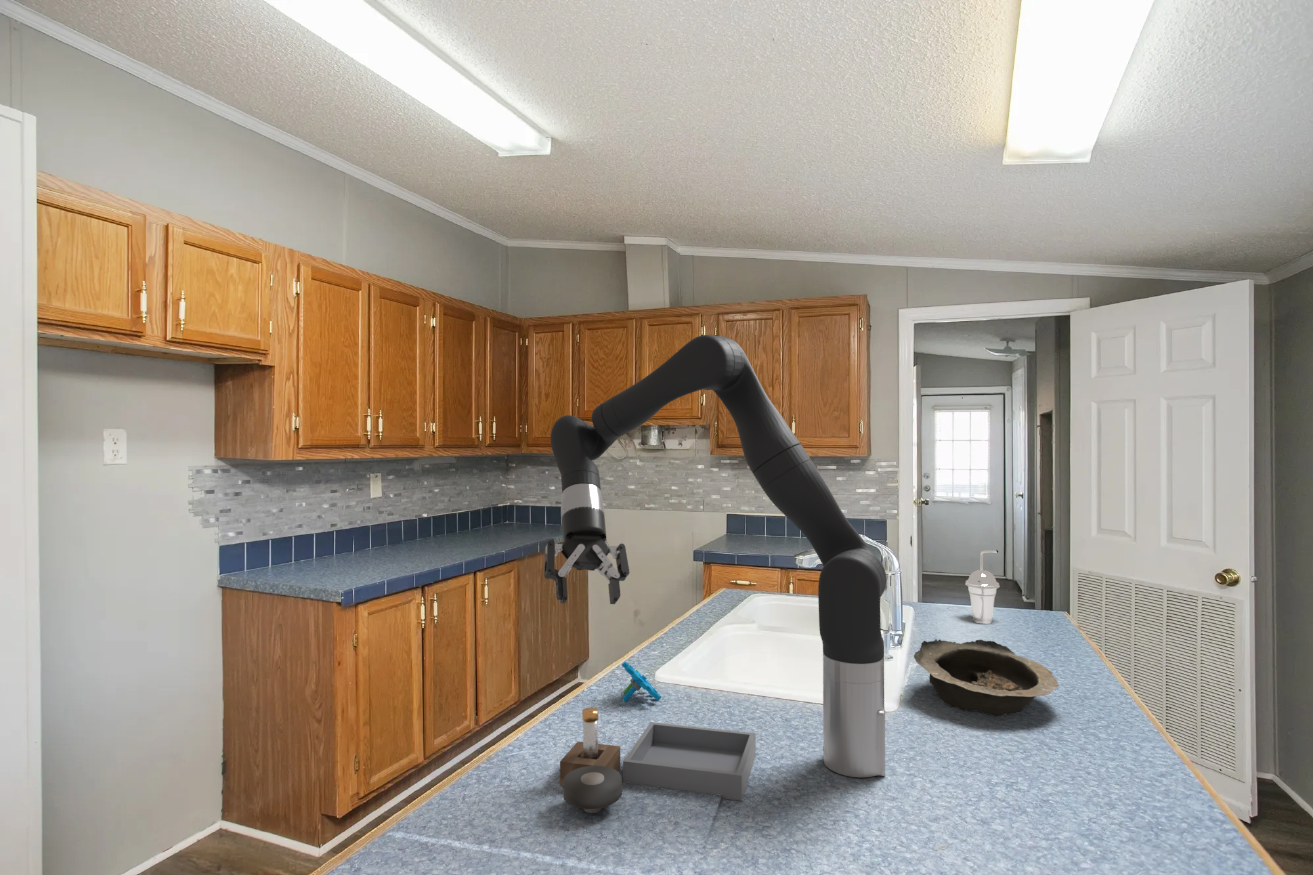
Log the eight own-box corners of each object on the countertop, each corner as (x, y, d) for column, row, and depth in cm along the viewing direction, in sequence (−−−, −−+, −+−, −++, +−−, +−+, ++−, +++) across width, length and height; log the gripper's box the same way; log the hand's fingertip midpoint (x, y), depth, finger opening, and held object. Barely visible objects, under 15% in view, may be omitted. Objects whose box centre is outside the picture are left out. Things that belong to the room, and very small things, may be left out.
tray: (755, 755, 116) (755, 733, 116) (741, 800, 102) (741, 775, 102) (650, 743, 121) (650, 722, 121) (623, 785, 107) (623, 761, 107)
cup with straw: (992, 617, 198) (992, 544, 197) (1005, 626, 189) (1005, 550, 188) (960, 617, 198) (960, 544, 198) (971, 626, 189) (971, 550, 189)
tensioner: (644, 775, 110) (644, 744, 110) (610, 831, 95) (610, 795, 94) (577, 766, 113) (577, 736, 113) (534, 819, 97) (534, 785, 97)
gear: (666, 700, 135) (628, 663, 135) (645, 725, 134) (606, 687, 134) (659, 687, 146) (624, 653, 146) (639, 710, 145) (603, 675, 145)
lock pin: (601, 773, 109) (600, 708, 109) (595, 781, 107) (595, 714, 107) (586, 772, 110) (585, 706, 110) (580, 779, 108) (579, 712, 107)
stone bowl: (919, 670, 155) (922, 628, 154) (1051, 697, 144) (1055, 652, 144) (904, 710, 132) (908, 660, 132) (1060, 745, 122) (1064, 691, 121)
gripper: (548, 502, 123) (551, 592, 114) (627, 507, 128) (637, 593, 119) (539, 523, 128) (541, 610, 119) (615, 527, 133) (623, 611, 124)
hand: (589, 602), depth 119 cm, fingers open, 8 cm apart
